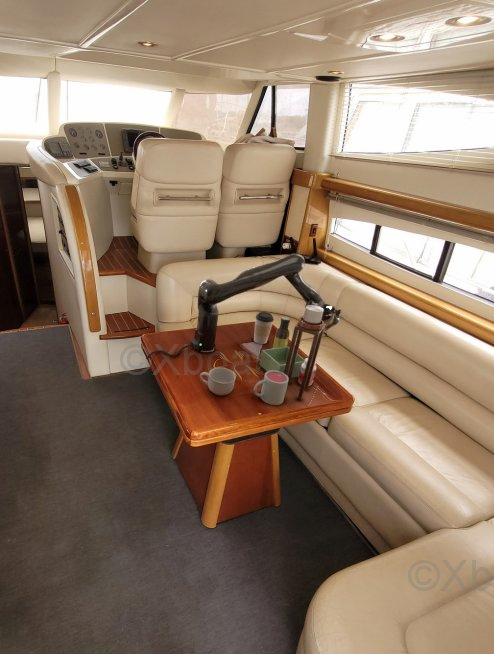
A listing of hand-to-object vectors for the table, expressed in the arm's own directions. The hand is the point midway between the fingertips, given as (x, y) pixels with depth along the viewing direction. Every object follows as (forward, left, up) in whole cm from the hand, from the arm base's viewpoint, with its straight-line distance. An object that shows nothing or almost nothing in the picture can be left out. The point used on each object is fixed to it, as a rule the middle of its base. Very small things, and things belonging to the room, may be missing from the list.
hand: (321, 305), depth 154 cm
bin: (-6, +8, -34) cm, 35 cm away
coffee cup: (+1, +36, -34) cm, 49 cm away
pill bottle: (-2, -4, -34) cm, 34 cm away
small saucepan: (-7, -5, -3) cm, 9 cm away
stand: (-11, -8, -34) cm, 36 cm away
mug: (-25, -9, -34) cm, 43 cm away
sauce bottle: (0, +19, -34) cm, 39 cm away
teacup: (-42, +2, -34) cm, 54 cm away
